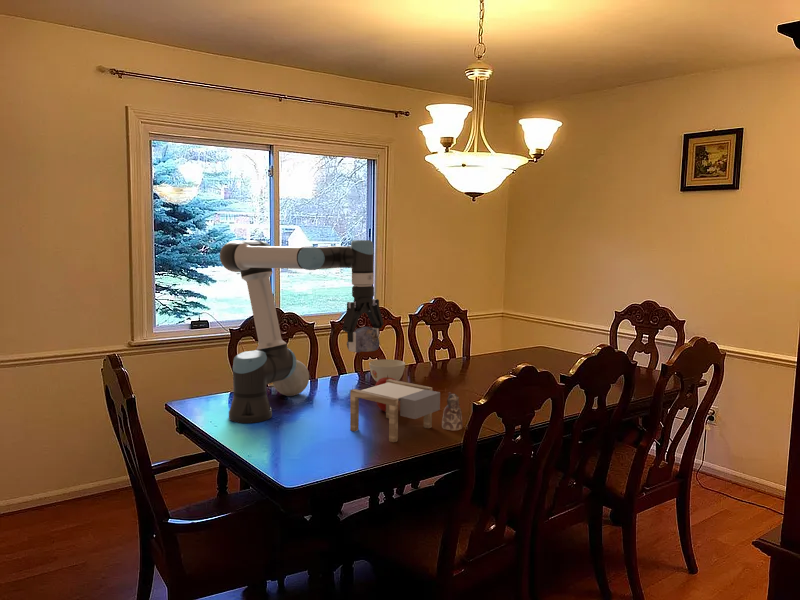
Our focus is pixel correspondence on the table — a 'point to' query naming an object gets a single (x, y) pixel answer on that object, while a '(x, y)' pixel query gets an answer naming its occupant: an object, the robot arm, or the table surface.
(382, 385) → the trapdoor
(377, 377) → the bowl
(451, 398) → the figurine
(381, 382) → the apple
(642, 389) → the table surface
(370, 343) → the rock
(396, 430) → the frame
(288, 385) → the decorative sphere
